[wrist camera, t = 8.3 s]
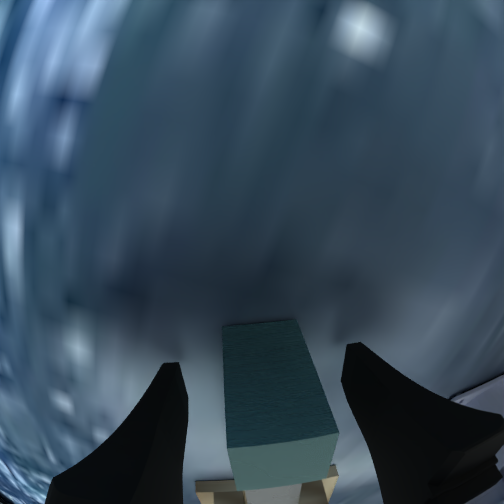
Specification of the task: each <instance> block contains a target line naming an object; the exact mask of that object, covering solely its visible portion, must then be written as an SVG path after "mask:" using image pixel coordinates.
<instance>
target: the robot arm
mask: <svg viewBox="0 0 504 504" xmlns="http://www.w3.org/2000/svg"><path fill="white" fill-rule="evenodd" d="M341 383H342V386H343V389H344V393H345V396H346V399H347V402H348V404H349V406H350V408H351V410H352V413H353V415H354V417H355V419H356V421H357V423H358V425H359V428H360V430H361V432H362V434H363V436H364V438H365V441H366V443H367V445H368V448H369V451H370V454H371V457H372V460H373V463H374V467H375V470H376V474H377V478H378V481H379V485H380V490H381V494H382V498H383V503H384V504H504V374H503V375H501V376H500V377H498V378H496V379H493V380H491V381H489V382H487V383H485V384H483V385H481V386H479V387H477V388H474V389H472V390H470V391H467V392H465V393H463V394H460V395H458V396H456V397H454V398H452V399H451V400H448V399H446V398H444V397H441V396H439V395H437V394H435V393H433V392H431V391H429V390H427V389H426V388H424V387H422V386H420V385H419V384H417V383H415V382H414V381H412V380H411V379H409V378H408V377H406V376H404V375H403V374H402V373H400V372H399V371H397V370H396V369H395V368H393V367H392V366H391V365H389V364H388V363H387V362H385V361H384V360H383V359H382V358H380V357H379V356H378V355H376V354H375V353H374V352H373V351H371V350H370V349H369V348H368V347H366V346H365V345H364V344H363V343H361V342H358V343H352V344H347V345H346V352H345V359H344V365H343V371H342V377H341ZM187 427H188V394H187V391H186V387H185V383H184V380H183V376H182V372H181V368H180V364H179V362H174V363H163V364H162V365H161V367H160V369H159V371H158V372H157V374H156V376H155V377H154V379H153V381H152V382H151V384H150V386H149V387H148V389H147V390H146V392H145V393H144V395H143V396H142V398H141V399H140V401H139V402H138V403H137V405H136V406H135V407H134V409H133V410H132V411H131V413H130V414H129V415H128V417H127V418H126V419H125V420H124V421H123V423H122V424H121V425H120V426H119V427H118V428H117V429H116V430H115V432H114V433H113V434H112V435H111V436H110V437H109V438H108V439H106V440H105V441H104V442H103V443H102V444H101V445H100V446H99V447H98V448H97V449H96V450H94V451H93V452H92V453H91V454H89V455H88V456H87V457H85V458H84V459H83V460H81V461H80V462H79V463H77V464H76V465H74V466H73V467H71V468H69V469H68V470H66V471H64V472H62V473H61V474H59V475H57V476H55V477H53V479H52V481H51V484H50V486H49V490H48V494H47V497H46V501H45V504H183V482H182V473H183V460H184V452H185V443H186V435H187Z"/></svg>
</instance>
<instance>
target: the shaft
mask: <svg viewBox="0 0 504 504" xmlns="http://www.w3.org/2000/svg"><path fill="white" fill-rule="evenodd" d="M222 338H223V370H224V396H225V418H226V438H227V450H228V455H229V459H230V464H231V468H232V472H233V476H234V480H235V485H236V489H237V491H245V494H246V499H247V504H298V502H299V496H300V491H301V486H302V483H306V482H312V481H317V480H322V479H326V477H327V474H328V471H329V468H330V464H331V461H332V457H333V454H334V450H335V447H336V443H337V439H338V436H339V431H338V428H337V425H336V422H335V420H334V417H333V414H332V412H331V409H330V406H329V404H328V401H327V398H326V396H325V393H324V390H323V388H322V385H321V382H320V380H319V377H318V374H317V372H316V369H315V366H314V364H313V361H312V359H311V356H310V353H309V351H308V348H307V345H306V343H305V340H304V338H303V335H302V332H301V330H300V327H299V325H298V322H297V320H296V319H294V320H286V321H277V322H267V323H257V324H247V325H235V326H223V327H222Z"/></svg>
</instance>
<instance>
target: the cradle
mask: <svg viewBox="0 0 504 504" xmlns="http://www.w3.org/2000/svg"><path fill="white" fill-rule="evenodd" d="M338 476H339V475H338V472H337V469H336V466H335V465H334V466H330V468H329V471H328V474H327V477H326V479H322V480H317V481H312V482H306V483H302V486H301V491H300V496H299V502H298V504H328V502H329V499H330V497H331V494H332V492H333V489H334V487H335V484H336V482H337V479H338ZM196 494H197V496H198V498H199V500H200V502H201V504H247V499H246V494H245V491H237V489H236V485H235V480H223V481H196Z"/></svg>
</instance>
